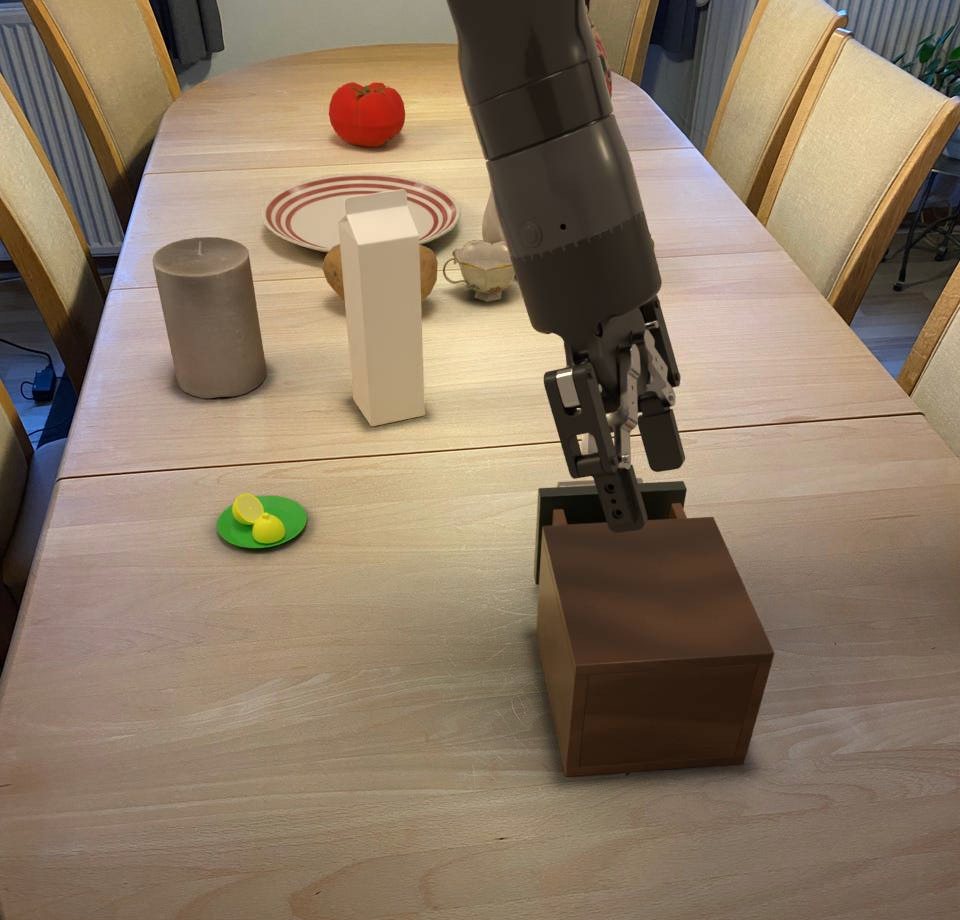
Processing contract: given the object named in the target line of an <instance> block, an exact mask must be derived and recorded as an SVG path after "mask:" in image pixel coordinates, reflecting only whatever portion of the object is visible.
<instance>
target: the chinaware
mask: <svg viewBox="0 0 960 920" xmlns="http://www.w3.org/2000/svg"><path fill="white" fill-rule="evenodd" d="M481 232H482V233H481V234H482V239H483V240H482V239H473V240H471V241H468V242H467V243H466V244H465V245H464V246H463V247H462V248H456V249H454V250H453V251H452V254H451V255H452V256H453V257H452V258H448V259H447V260H446V261H445V263H444V264H443V267H442V275H443V277H444V279H445V280H446V281H447V282H448V283H450V284H453V285H454V284H460V283H464V284H465V286H464V288H463V289H464V291H469V290H471V289H472V290H474V291H475V293H474V298H475V299H478V300H481V301H485V302H491V301H493V302H494V301H496V300H501V299H502V296H503V295H502V292H503V290H505V289H507V288H508V287H509V286H510V285H511V283H512V282H513V280H514V278H515V277H516V275H515V271H514V268H513V265H512V262H511V259H510V255H509V252H508V249H507V245H506V242H505V239H504V236H503V233H502V230H501V227H500V223H499V220H498V217H497V214H496V210H495V206H494V202H493V197H492V191H491V190H490V192H489V197H488V199H487V203H486V206H485V209H484V212H483V217H482V223H481ZM649 233H650V237H651V240H652V244H653V248H654V249H655V241H654V240H653V238H652V234H651V232H650V231H649ZM452 261H453V265H457V264H458V265H459V266H458V267H459V268H460V272H461V275H462V278H463V279H459V280H452V279H451V278H449V277H448V276H447V273H446V268H447V265H448V264H449V263H450V262H452Z"/></svg>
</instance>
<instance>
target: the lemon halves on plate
mask: <svg viewBox="0 0 960 920" xmlns="http://www.w3.org/2000/svg"><path fill="white" fill-rule="evenodd" d="M307 519H308V516H307V513H306V510H305V509H304V507H303V506H302V505H301V504H299V503H298V501H295V500H293V499H291V498H288V497H285V496H279V495H256V496H255V495H253V494H251V493H249V492H244V493H240V494H239V495H238V496H237V497H236V498H235V499H234V501H233V503H232V504H231V505H229V506H228V507H227V508H225V510H223V511H222V512H221V513H220V515H219V517H218V519H217V522H216V528H217V529H216V530H217V532H218V534H219V536H220V537H221V538H222V539H224V540H225V541H226V542H228V543H230V544H231V545H234V546H237V547H240V548H246V549H247V548H248V549H262V548H263V549H265V548H271V547H274V546H275V547H276V546H278V545H281V544H284V543H286V542H288V541H290V540H292V539H293V538H295V537H296V536H298V535H299V534H300V533H301V532H302V531H303V529H304V528H305V526H306V523H307Z"/></svg>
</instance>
